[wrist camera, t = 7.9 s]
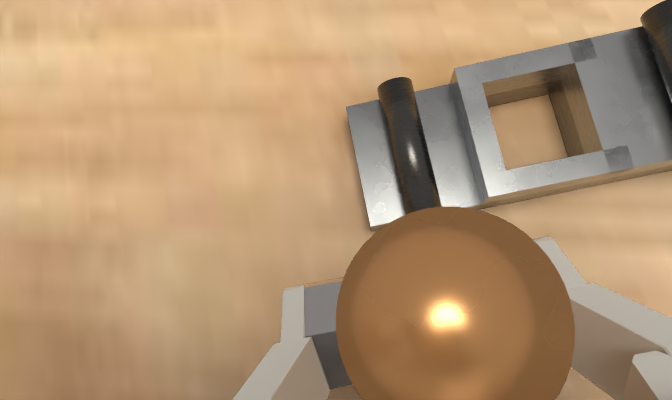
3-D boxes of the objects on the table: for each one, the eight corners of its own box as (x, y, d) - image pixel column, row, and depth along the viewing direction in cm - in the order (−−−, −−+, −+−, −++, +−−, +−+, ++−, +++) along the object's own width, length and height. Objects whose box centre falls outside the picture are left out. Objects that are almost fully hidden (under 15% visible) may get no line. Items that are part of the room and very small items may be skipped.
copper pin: (372, 359, 16) (359, 468, 6) (354, 267, 16) (317, 230, 7) (465, 342, 16) (607, 425, 6) (443, 249, 16) (537, 185, 7)
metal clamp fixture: (372, 234, 28) (368, 219, 22) (347, 116, 30) (338, 73, 24) (709, 166, 27) (800, 131, 21) (665, 46, 28) (737, -17, 23)
